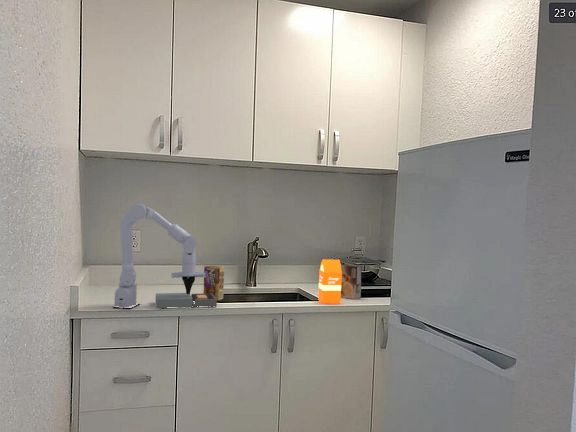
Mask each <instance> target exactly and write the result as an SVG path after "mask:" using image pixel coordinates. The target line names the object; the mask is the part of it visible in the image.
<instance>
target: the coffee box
mask: <svg viewBox="0 0 576 432" xmlns="http://www.w3.org/2000/svg"><path fill="white" fill-rule="evenodd" d="M340 265H341V272H342V278H341V298H343V299H345V298H346V299H352V300H357V299H361V298H362V295H361V293H362V268H363V267H362V265H358V264H349V263H343V264H340Z"/></svg>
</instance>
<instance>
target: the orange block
mask: <svg viewBox="0 0 576 432" xmlns="http://www.w3.org/2000/svg"><path fill="white" fill-rule="evenodd" d="M196 299H208V297H207V296H206V295H196Z"/></svg>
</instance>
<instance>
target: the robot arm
mask: <svg viewBox="0 0 576 432" xmlns="http://www.w3.org/2000/svg"><path fill="white" fill-rule="evenodd" d="M143 218H145V220H146V219H148V220H153V221H154V222H155V223H157V224H158V225H160V226H161V227H163V228H164V229H166V230H167V235H168V236H170V237H171V238H172V239H173V240H175V241H176V242H177V243H179V244H182V247H183V248H182V257H181V258H182V259H181V272H171V275H170V276H171V277H170V278H172V279H174V278H176V279H177V278H181V279H182V282H183V285H184V287H185V288H184V289H185V293H186V294H190V295H191V290H192V287H193V285H194V282H195V281H196V278H204V277H205V274H206V273H205V272H204V271H201V272H200V271H196V262H197V261H196V258H197V253H196V251H197V250H196V247H197V245H198V243H197V242H198V241H197V239H196V238H195V237H194V236H193V235H192V234H191V232H190V231H188V232H187V231H186V230H185V229H184V228H183V227H182V225H180V224H178V223H173V224H172V223H171V222H170V221H168V220H167V219H165V217H163V216H162V215H161V214H159V213H158V212H157V211H156V210H154V209H152V208H151V207H149V206H146V204H144V203H142V202H136V203H134V204H133V205H132V206H131V207H130V208H128V210H127V211H126V213H125V214H124V216H123V217H122V219H121V221H120V239H121V242H120V244H121V273H120V276H119V281H120V282H119V284H118V288H117V289H116V290H115V292H114V306H119V307H129V306H132V305H136V303H137V294H138V293H137V291H138V289H137V287H138V284H137V283H136V279H137V272H136V271H135V269H134V267H135V266H134V251H133V250H134V245H133V244H134V243H133V225H134V224H136V223H137V221H140V220H141V219H143Z"/></svg>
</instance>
